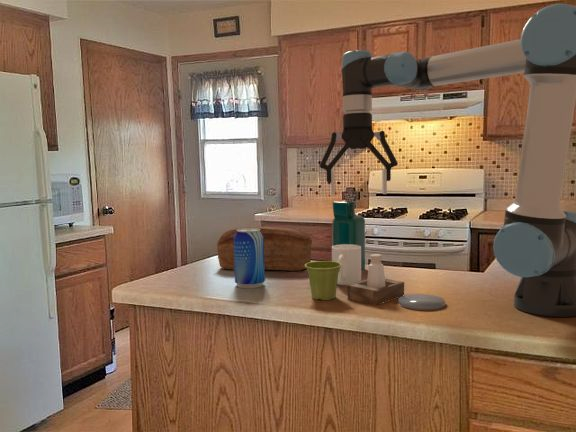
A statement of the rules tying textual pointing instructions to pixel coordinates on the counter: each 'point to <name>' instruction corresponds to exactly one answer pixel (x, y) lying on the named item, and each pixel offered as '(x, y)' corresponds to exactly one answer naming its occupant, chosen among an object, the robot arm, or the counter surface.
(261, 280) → the beer can
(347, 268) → the mug
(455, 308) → the counter surface
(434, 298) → the grey plate
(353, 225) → the teal bottle
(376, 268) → the salt shaker
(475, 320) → the counter surface
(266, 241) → the bread
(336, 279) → the plant pot
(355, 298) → the pocket block
